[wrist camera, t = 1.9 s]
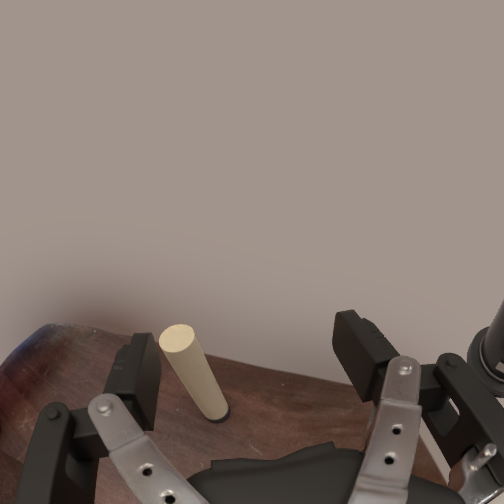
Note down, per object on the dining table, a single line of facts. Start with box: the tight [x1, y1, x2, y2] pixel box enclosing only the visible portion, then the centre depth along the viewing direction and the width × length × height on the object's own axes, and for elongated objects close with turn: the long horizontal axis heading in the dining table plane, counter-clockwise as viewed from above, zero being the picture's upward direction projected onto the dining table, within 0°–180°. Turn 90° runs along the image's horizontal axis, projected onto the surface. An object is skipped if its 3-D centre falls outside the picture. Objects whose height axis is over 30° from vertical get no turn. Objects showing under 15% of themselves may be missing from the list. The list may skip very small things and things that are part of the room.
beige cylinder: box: [159, 324, 230, 423], centre depth 23 cm, size 3×3×13 cm
